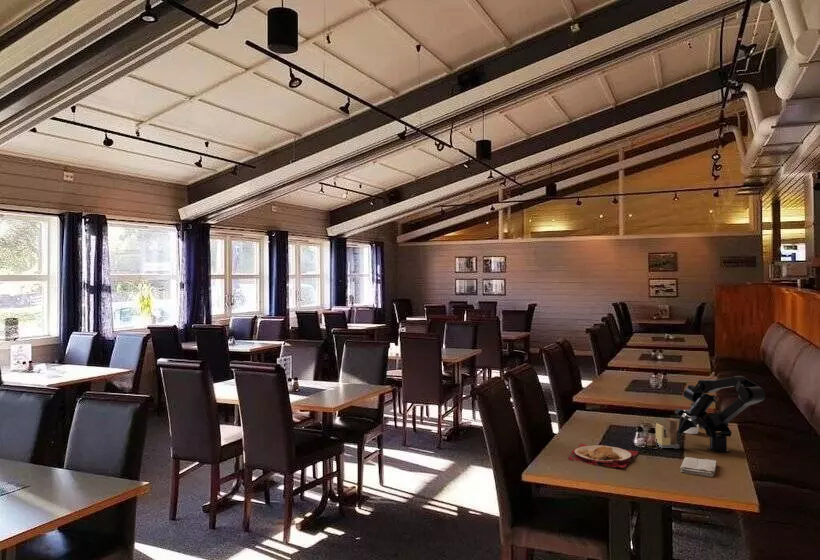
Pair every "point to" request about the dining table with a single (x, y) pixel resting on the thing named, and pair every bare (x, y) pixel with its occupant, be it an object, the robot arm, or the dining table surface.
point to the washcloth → (698, 466)
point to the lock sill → (663, 438)
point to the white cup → (692, 430)
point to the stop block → (671, 429)
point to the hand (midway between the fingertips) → (678, 433)
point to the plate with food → (603, 455)
